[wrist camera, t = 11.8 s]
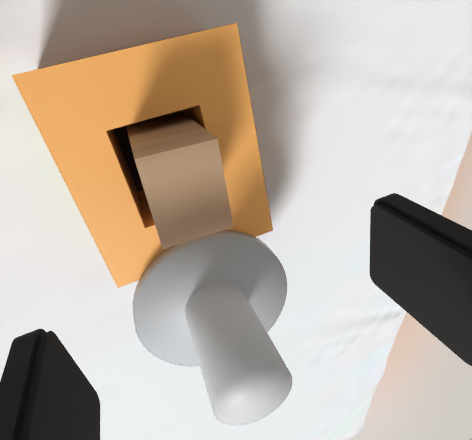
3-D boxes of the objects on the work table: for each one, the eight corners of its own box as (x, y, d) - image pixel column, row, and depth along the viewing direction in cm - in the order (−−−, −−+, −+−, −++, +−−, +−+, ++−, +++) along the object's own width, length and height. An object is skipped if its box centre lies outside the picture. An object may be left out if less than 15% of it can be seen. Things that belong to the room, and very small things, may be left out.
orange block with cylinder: (37, 69, 22) (-72, 93, 9) (205, 30, 25) (325, 0, 11) (152, 320, 34) (182, 494, 21) (259, 277, 37) (348, 409, 23)
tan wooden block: (123, 117, 25) (134, 159, 15) (175, 105, 26) (217, 138, 16) (142, 178, 28) (162, 249, 18) (189, 165, 29) (233, 227, 18)
